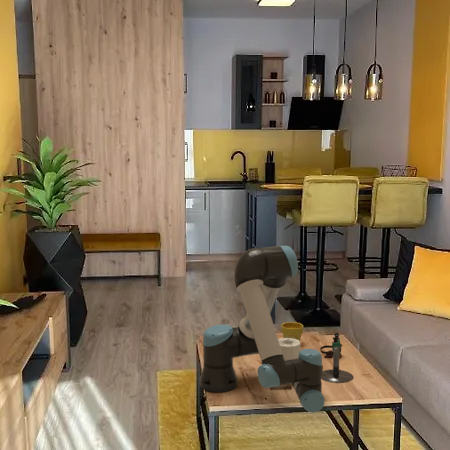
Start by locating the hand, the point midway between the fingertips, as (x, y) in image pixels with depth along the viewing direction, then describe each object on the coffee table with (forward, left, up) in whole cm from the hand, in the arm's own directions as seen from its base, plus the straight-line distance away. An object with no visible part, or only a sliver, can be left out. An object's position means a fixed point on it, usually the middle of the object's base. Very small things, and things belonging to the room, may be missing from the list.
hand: (291, 362), depth 227 cm
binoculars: (+24, +32, -12) cm, 42 cm away
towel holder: (+20, +9, -11) cm, 25 cm away
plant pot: (+10, +50, -11) cm, 52 cm away
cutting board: (0, +9, -11) cm, 14 cm away
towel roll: (0, +9, -10) cm, 13 cm away
